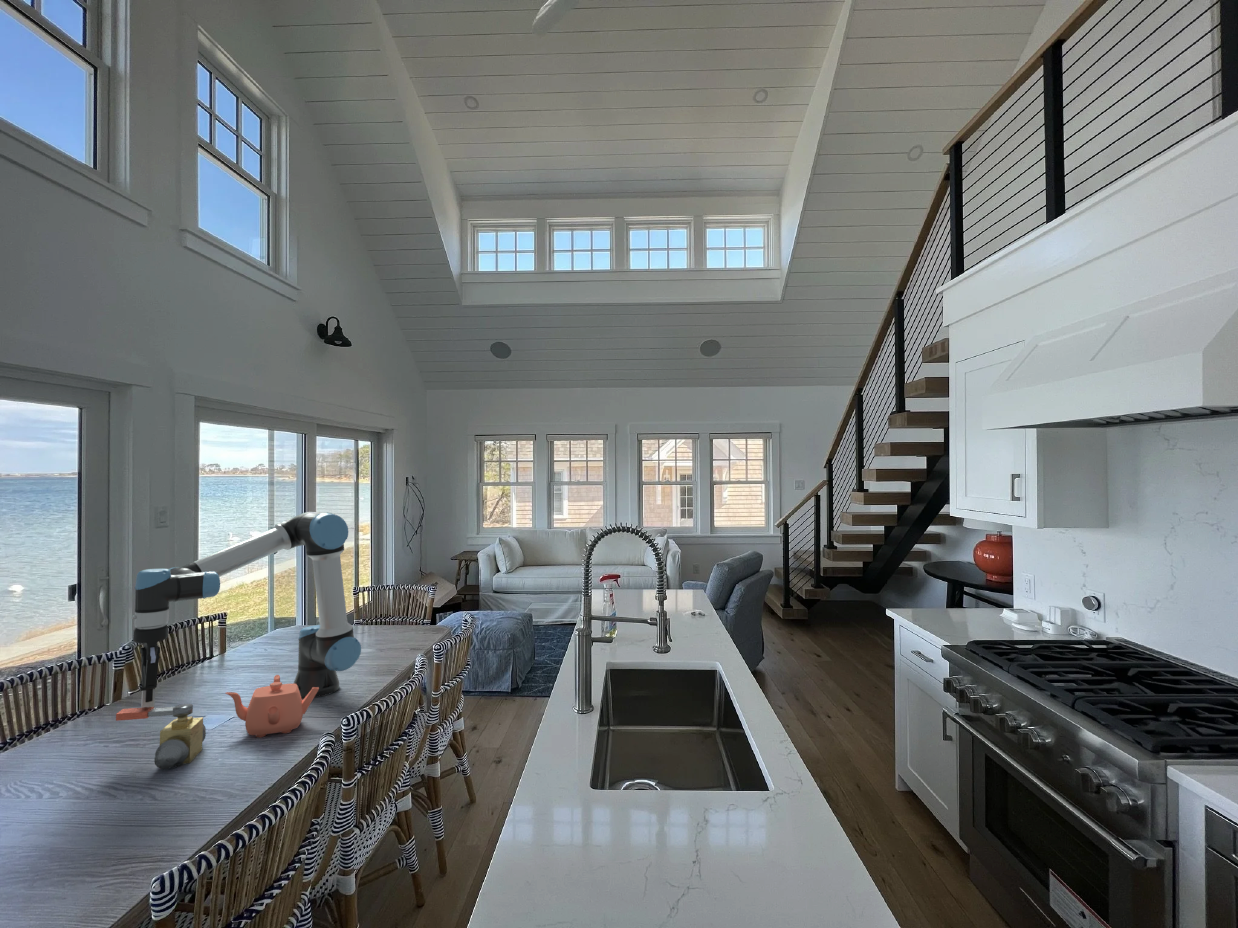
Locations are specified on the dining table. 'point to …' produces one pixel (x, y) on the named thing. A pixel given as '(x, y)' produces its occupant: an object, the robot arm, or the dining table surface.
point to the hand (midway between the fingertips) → (147, 712)
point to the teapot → (273, 708)
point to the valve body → (180, 742)
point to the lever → (154, 712)
